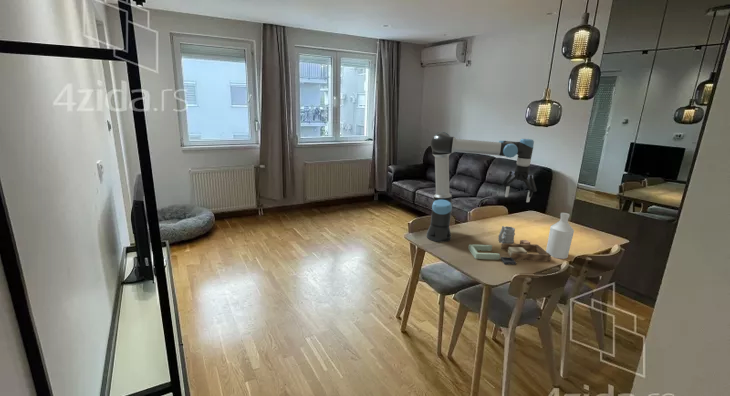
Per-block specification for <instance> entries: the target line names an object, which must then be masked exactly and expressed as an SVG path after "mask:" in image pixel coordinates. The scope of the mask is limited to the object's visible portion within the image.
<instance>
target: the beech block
mask: <svg viewBox="0 0 730 396" xmlns="http://www.w3.org/2000/svg"><path fill="white" fill-rule="evenodd" d="M511 253H526V254H528V251H526V250H525V249H524V248H522V247H509V248H508V250H507V254H508V255H509V257H511Z"/></svg>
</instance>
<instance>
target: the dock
mask: <svg viewBox="0 0 730 396" xmlns="http://www.w3.org/2000/svg"><path fill="white" fill-rule="evenodd" d="M467 248H468V251H469V252H470V253H471V255H472V256H473V257H474V259H475V260H500V257H501V255H500V253H497V252H496V253H495V252H494V253H493V252H492V250H493V245H491V244H471V243H470V244H468V247H467ZM480 250H481V251H484V252H478V251H480Z"/></svg>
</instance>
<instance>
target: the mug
mask: <svg viewBox="0 0 730 396" xmlns="http://www.w3.org/2000/svg"><path fill="white" fill-rule="evenodd" d="M515 231H516V228H514V227H512V226H506V225H505V226H504V225H501V230H500V232H499V234H498V237H497V239H498V243H501V244H502V243H506V244H515V243H514V242H515V235H516V233H515Z"/></svg>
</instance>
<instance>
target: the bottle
mask: <svg viewBox="0 0 730 396" xmlns="http://www.w3.org/2000/svg"><path fill="white" fill-rule="evenodd" d="M559 215H560V219H559V221H556V222H555V223H554V224H552V225H550V228H549V232H548V233H549V234H548V238H547V245H546V249H545V251H546V252H547V253H549V254H550V255H551V258H554V259H560V260H561V259H564V260H565V259H567V258H569V254H570V249H571V245H572V241H573V237H574V232H575V230H574V228H573V227H572V225H571V224H570V223H569V218H570V217H571V214H570V213H568V212H560V214H559Z"/></svg>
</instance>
